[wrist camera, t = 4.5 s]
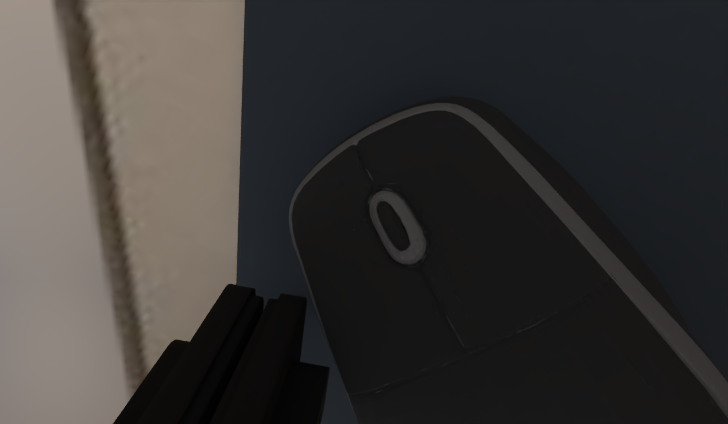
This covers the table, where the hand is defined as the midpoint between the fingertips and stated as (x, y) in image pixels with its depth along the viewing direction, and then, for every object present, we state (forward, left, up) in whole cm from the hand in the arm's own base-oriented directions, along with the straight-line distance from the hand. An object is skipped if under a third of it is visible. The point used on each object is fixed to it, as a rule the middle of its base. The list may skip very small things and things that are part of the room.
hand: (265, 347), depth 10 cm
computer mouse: (0, +5, -2) cm, 6 cm away
